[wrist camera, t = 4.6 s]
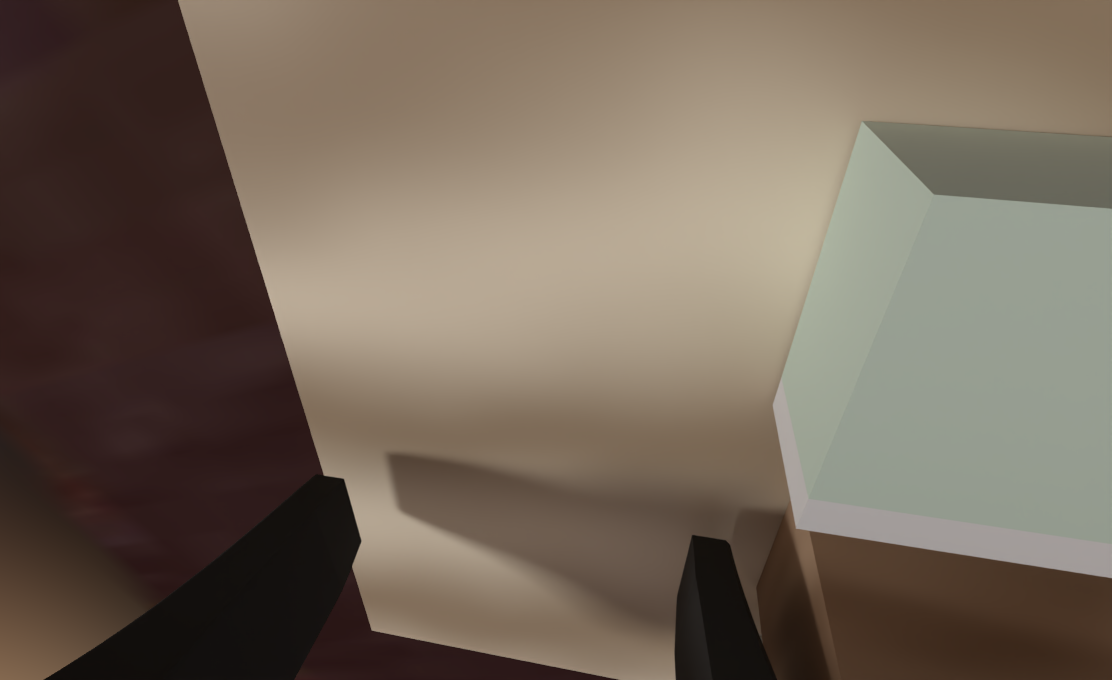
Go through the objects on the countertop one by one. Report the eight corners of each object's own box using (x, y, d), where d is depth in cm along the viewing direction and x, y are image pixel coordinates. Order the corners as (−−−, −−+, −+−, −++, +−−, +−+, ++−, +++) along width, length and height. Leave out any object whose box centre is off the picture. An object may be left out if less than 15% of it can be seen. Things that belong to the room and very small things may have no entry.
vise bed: (1193, 752, 15) (1221, 799, 14) (386, 598, 18) (372, 630, 17) (2356, 29, 5) (2649, 46, 5) (216, -43, 8) (166, -40, 8)
